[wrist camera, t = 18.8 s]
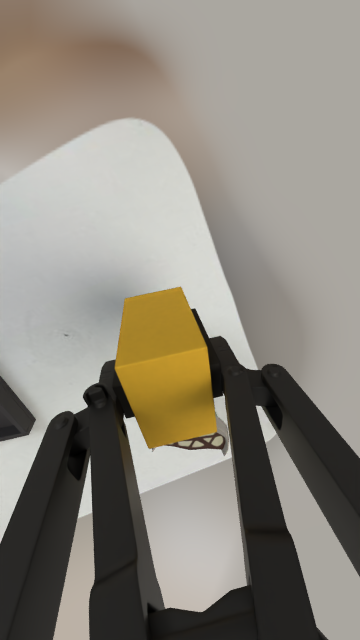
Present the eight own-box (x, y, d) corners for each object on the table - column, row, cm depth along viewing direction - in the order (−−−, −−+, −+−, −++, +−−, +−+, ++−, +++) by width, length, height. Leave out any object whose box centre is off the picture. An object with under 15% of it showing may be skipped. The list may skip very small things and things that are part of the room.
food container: (224, 378, 39) (247, 431, 30) (209, 401, 42) (227, 456, 33) (158, 365, 35) (163, 422, 27) (146, 392, 38) (148, 451, 29)
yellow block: (124, 298, 17) (113, 368, 10) (181, 286, 17) (207, 347, 10) (145, 364, 21) (148, 449, 14) (192, 354, 21) (217, 432, 14)
